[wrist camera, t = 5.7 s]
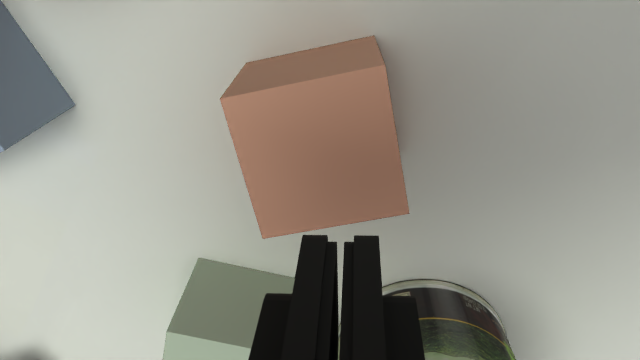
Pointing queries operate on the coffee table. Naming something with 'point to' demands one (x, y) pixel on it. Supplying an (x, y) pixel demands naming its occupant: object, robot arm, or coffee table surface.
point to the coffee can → (454, 322)
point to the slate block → (25, 85)
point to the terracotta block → (317, 138)
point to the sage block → (220, 311)
